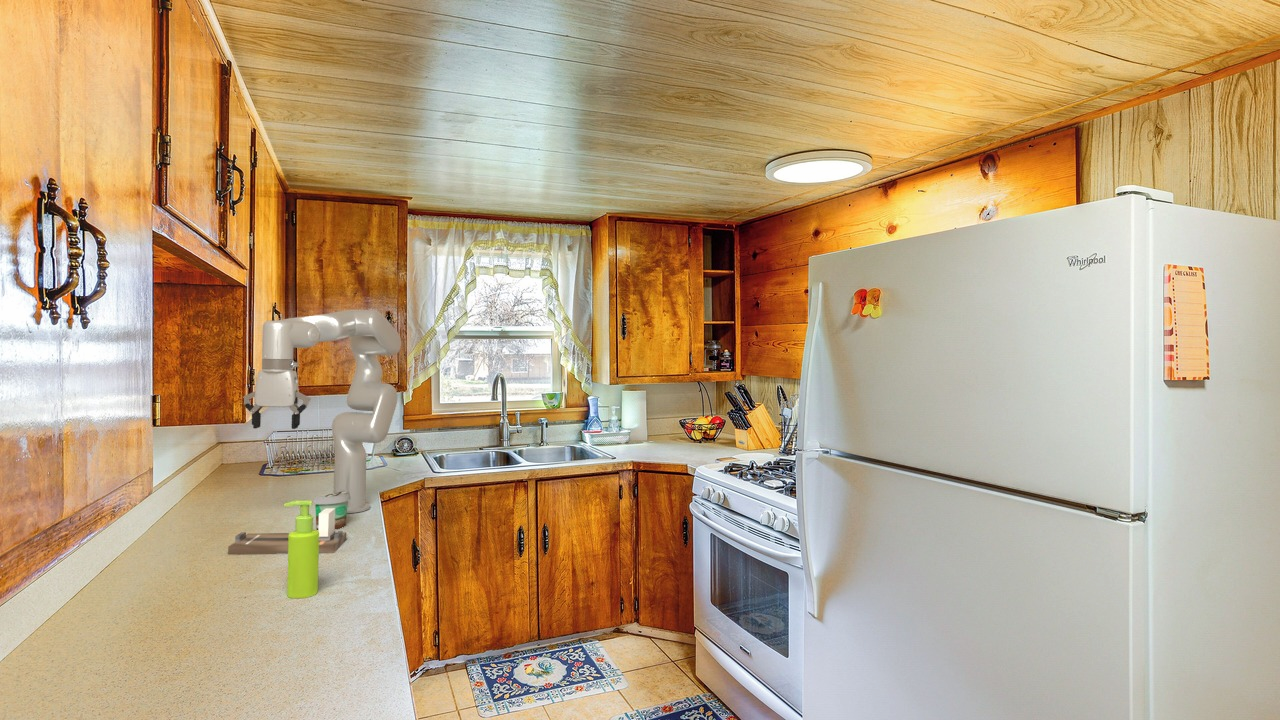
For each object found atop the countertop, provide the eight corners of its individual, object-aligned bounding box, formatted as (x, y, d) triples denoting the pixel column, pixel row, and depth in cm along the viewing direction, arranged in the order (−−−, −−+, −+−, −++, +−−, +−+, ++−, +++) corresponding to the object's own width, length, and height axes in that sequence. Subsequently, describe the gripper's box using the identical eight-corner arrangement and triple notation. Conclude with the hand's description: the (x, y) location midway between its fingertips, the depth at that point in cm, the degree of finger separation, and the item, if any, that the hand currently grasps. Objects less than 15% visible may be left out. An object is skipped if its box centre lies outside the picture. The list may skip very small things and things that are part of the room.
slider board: (247, 540, 179) (248, 528, 179) (346, 539, 183) (346, 526, 183) (228, 554, 167) (228, 540, 167) (333, 552, 171) (334, 539, 171)
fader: (323, 534, 179) (324, 508, 179) (335, 534, 180) (336, 508, 180) (316, 541, 173) (317, 513, 173) (329, 541, 174) (329, 513, 174)
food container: (332, 533, 188) (333, 498, 188) (312, 531, 189) (313, 497, 189) (358, 523, 200) (359, 490, 200) (340, 521, 201) (341, 488, 201)
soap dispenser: (282, 590, 144) (285, 499, 144) (318, 587, 147) (320, 497, 146) (280, 600, 139) (282, 505, 138) (316, 596, 141) (319, 503, 141)
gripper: (315, 366, 187) (313, 426, 187) (248, 364, 184) (247, 426, 184) (306, 367, 180) (305, 430, 180) (237, 365, 177) (235, 429, 177)
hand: (275, 428), depth 182 cm, fingers open, 9 cm apart
